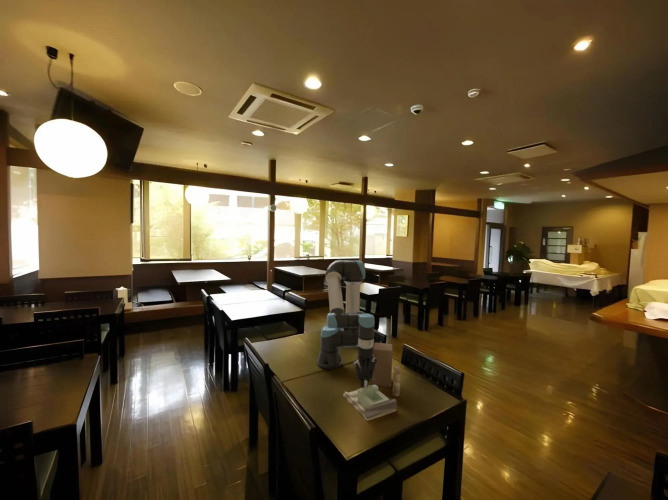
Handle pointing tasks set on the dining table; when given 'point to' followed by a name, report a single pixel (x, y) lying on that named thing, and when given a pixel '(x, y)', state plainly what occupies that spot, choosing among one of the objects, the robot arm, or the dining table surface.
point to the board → (373, 410)
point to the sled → (370, 396)
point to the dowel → (396, 381)
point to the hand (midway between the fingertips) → (364, 393)
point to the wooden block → (382, 365)
